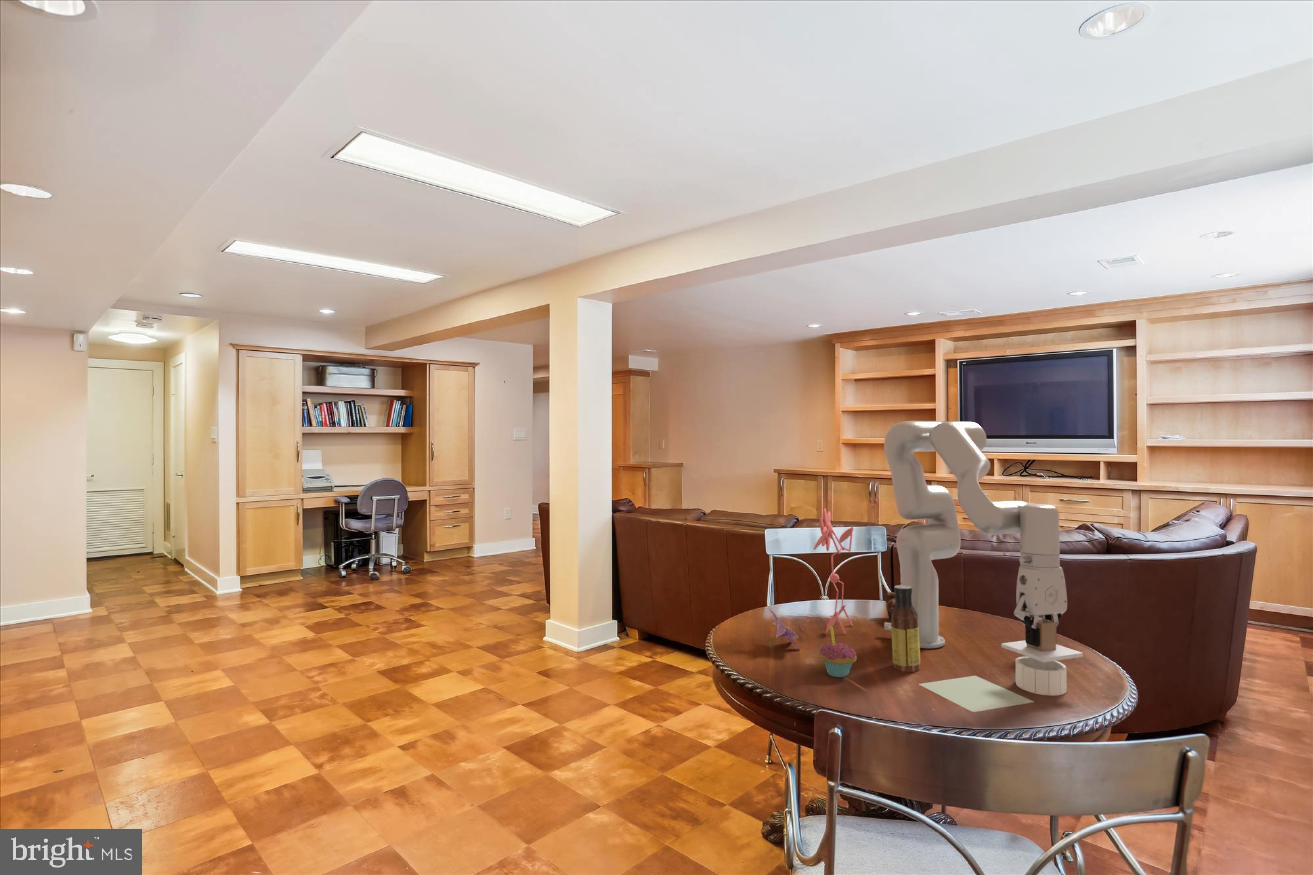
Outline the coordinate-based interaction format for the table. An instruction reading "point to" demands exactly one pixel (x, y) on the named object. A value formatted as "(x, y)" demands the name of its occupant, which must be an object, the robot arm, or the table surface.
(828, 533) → the figurine
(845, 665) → the cupcake
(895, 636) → the sauce bottle
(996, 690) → the mat
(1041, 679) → the bowl
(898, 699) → the table surface
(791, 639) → the lily
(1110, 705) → the table surface
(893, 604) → the decorative turtle
